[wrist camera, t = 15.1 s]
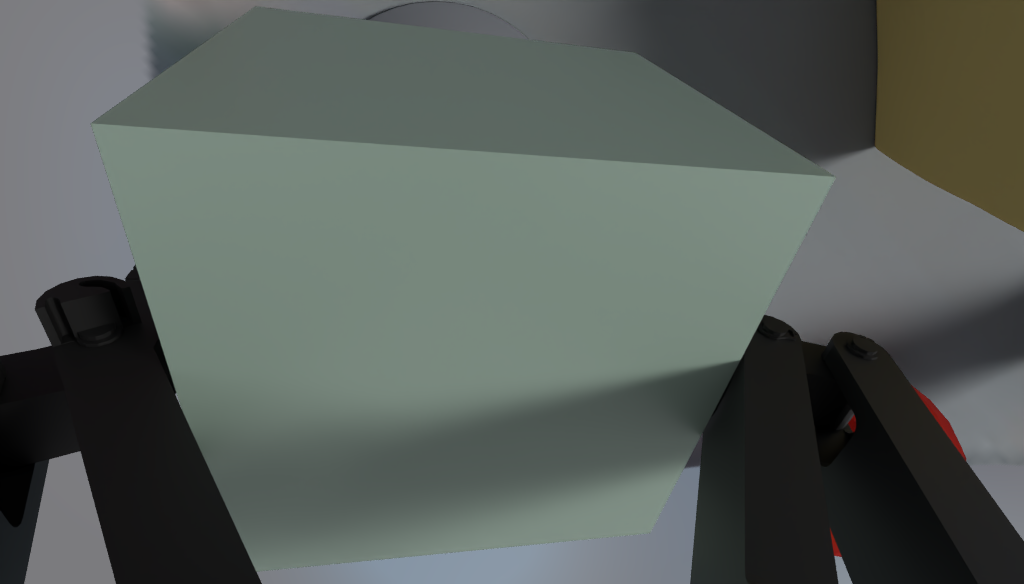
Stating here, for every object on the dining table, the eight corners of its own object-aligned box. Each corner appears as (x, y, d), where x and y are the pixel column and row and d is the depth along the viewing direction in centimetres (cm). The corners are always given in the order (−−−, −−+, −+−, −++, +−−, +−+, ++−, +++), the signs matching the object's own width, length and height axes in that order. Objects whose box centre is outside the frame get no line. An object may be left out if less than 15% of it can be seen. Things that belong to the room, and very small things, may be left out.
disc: (296, -20, 17) (295, -19, 17) (592, 21, 19) (593, 22, 19) (318, 249, 22) (318, 251, 22) (543, 256, 25) (544, 258, 24)
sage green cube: (255, 6, 13) (90, 123, 6) (635, 52, 15) (836, 177, 8) (294, 325, 19) (234, 573, 12) (566, 324, 21) (650, 533, 14)
